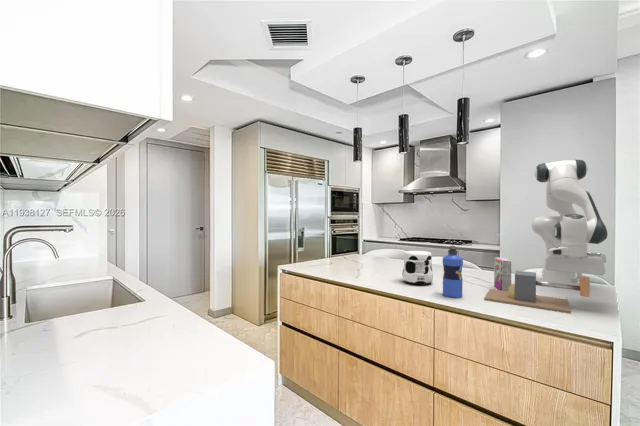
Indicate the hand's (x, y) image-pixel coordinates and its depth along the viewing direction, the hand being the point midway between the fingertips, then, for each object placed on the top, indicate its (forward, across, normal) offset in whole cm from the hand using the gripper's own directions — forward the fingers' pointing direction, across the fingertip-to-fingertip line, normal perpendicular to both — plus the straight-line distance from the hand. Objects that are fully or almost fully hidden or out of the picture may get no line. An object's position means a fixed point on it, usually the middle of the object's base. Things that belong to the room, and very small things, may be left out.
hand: (573, 282), depth 133 cm
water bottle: (+11, +47, +11) cm, 50 cm away
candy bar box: (+11, +29, -17) cm, 35 cm away
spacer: (+10, +23, 0) cm, 25 cm away
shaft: (+5, +7, 0) cm, 9 cm away
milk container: (+11, +70, -5) cm, 72 cm away
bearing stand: (+11, +18, 0) cm, 21 cm away
